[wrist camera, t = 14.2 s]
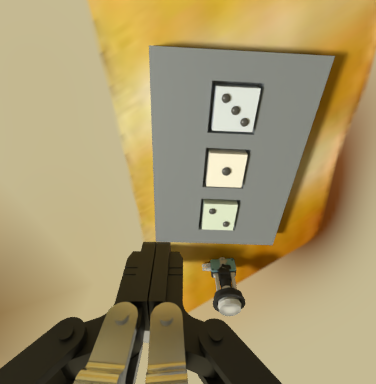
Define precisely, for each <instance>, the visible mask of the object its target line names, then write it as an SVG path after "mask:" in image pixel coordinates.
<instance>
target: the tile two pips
mask: <svg viewBox="0 0 376 384" xmlns="http://www.w3.org/2000/svg"><path fill="white" fill-rule="evenodd" d="M237 207H238V204H237V201H236V200H225V199H203V206H202V216H201V225H202V229H204V230H233V227H234V222H235V217H236V212H237Z"/></svg>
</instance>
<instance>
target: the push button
mask: <svg viewBox="0 0 376 384" xmlns="http://www.w3.org/2000/svg"><path fill="white" fill-rule="evenodd" d="M204 265H206V266H204ZM202 267H207V268H203V271H211V275H212V277H213V278H215V281H216V289H217V292H216V293H215V296H214V301H213V307H214V308H215V310H217V311H219V312H220V313H221V314H223V315H225V316H233V315H236V314H238V313H239V312H240V311H241V309H242V308H243V307H244V306H245V299H244V297H243V296H242V293H241V292H240V291H239V290H237V287H236V282H235V278H234V277H235V276H236V266H235V261H234V259H233V258H230V259H225V258H224V257H220V258H219V259H213V260H211V261H210V263H208V264H202ZM204 269H206V270H204ZM219 281H220V284H219ZM231 282H232V286H231ZM220 285H221V289H220ZM232 287H233V288H232Z"/></svg>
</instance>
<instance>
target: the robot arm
mask: <svg viewBox="0 0 376 384" xmlns="http://www.w3.org/2000/svg"><path fill="white" fill-rule="evenodd" d="M182 299H183V258H182V256H181V254H180V253H179V252H171V251H170V242H143V245H142V249H141V252H136V251H135V252H134V251H133V252H132V254H131V255H130V256H129V257H128V259H127V262H126V266H125V269H124V273H123V276H122V280H121V283H120V287H119V291H118V294H117V298H116V301H115V304H114V306H113V307H111V308H110V309H109V311H108V312H107V313H106V314H105V315H103V316H101V317H99V318H96V319H93V320H90V321H87V322H83V321H82V320H81V319H80V318H77V317H70V318H66V319H64V320H62V321H60V322H59V323H58V324H56V325H55V326H54V327H52V328H51V329H50V330H49V331H47V333H45V334H44V335H42V336H41V337H40V338H38V339H37V340H36V341H35V342H33V343H32V344H31V345H30V346H28V347H27V348H26V349H25V350H23V351H22V352H21V353H20V354H18V355H17V356H16V357H14V358H13V359H12V360H11V361H9V362H8V363H7V364H6V365H4V366H3V367H2V368H1V369H0V384H135V381H136V376H137V372H138V367H139V363H140V358H141V353H142V347H143V346H142V345H143V339H144V332H145V331H150V335H149V354H148V369H147V373H146V382H145V384H188V378H187V369H188V370H190V371H193V372H195V373H197V374H198V376H199V378H200V379H201V381H202V382H203V383H204V384H281V382H280V381H279V380H278V379H277V378H276V377H275V376H274V375H273V374H272V373H271V371H270V370H269V369H268V368H267V367H266V366H265V365H264V364H263V363H262V362H261V361H260V360H259V358H258V357H257V356H256V355H255V354H254V353H253V352H252V351H251V350H250V349H249V348H248V347H247V345H246V344H245V343H244V342H243V341H242V340H241V339H240V338H239V337H238V336H237V335H236V333H235V332H234V331H233V330H232V329H231V328H230V327H229V326H228V325H227V324H226V323H225V322H223V321H222V320H219V319H209V320H206V321H205V322H203V321H200V320H198V319H195V318H193V317H191V316H190V315H189V314H188V313H187V312H186V311H185V309H184V307H183V301H182Z"/></svg>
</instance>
